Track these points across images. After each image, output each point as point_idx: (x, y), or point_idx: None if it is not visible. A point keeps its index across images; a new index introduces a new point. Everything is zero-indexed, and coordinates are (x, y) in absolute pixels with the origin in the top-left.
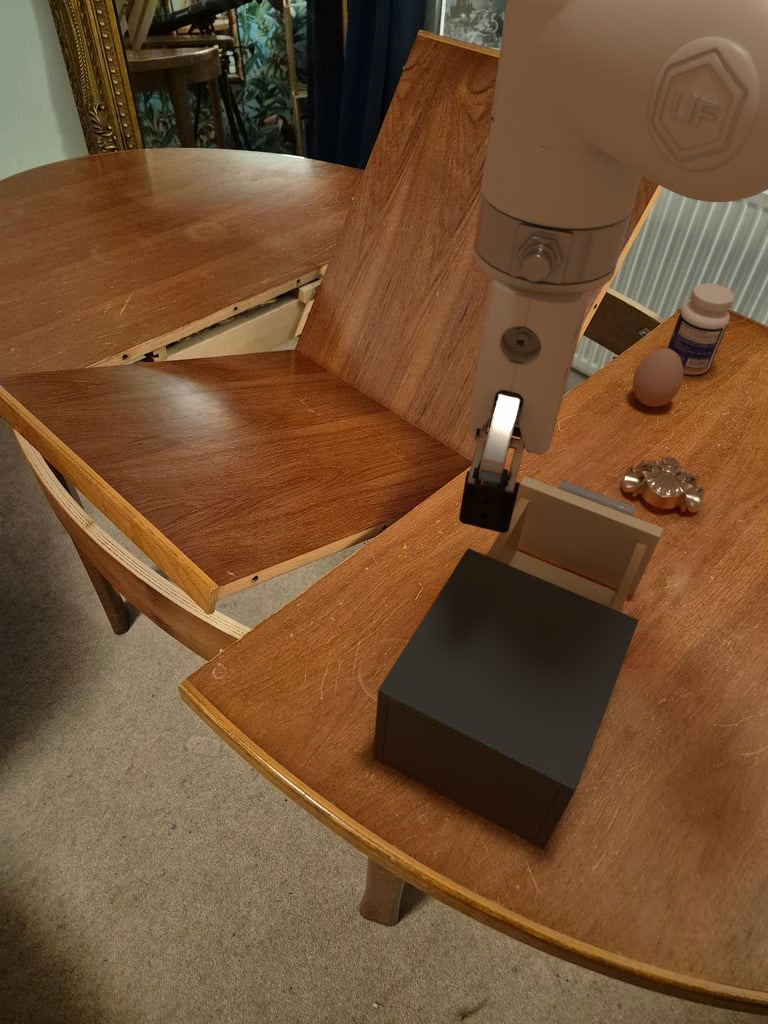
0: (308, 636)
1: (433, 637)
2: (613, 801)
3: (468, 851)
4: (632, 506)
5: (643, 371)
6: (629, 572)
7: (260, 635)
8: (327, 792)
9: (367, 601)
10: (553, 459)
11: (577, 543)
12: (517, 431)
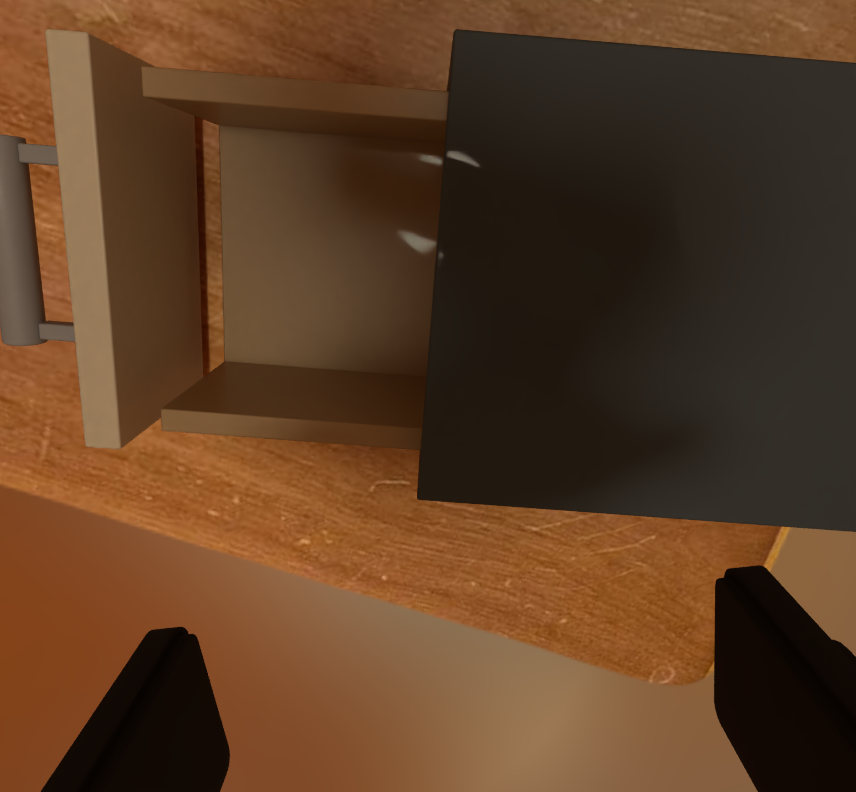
0: (555, 599)
1: (699, 482)
2: (674, 21)
3: None
4: None
5: None
6: (267, 95)
7: (582, 657)
8: None
9: (450, 549)
10: None
11: (164, 248)
12: (196, 692)
